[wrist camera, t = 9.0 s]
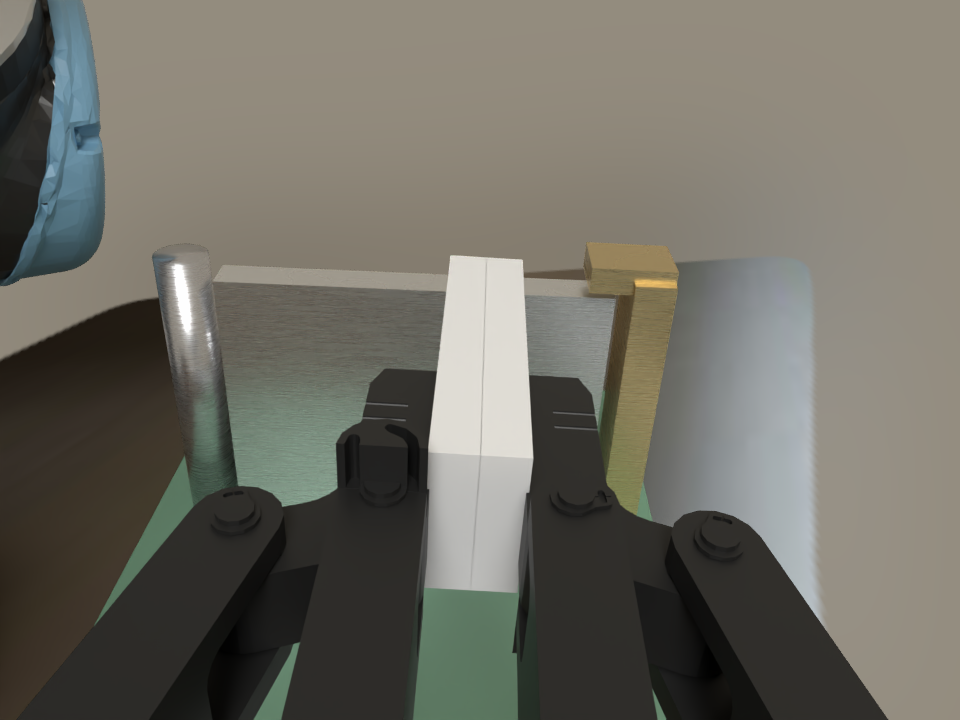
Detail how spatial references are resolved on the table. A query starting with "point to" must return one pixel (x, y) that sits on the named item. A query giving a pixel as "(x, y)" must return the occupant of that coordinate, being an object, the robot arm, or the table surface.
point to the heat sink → (609, 270)
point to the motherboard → (444, 636)
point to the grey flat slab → (360, 356)
